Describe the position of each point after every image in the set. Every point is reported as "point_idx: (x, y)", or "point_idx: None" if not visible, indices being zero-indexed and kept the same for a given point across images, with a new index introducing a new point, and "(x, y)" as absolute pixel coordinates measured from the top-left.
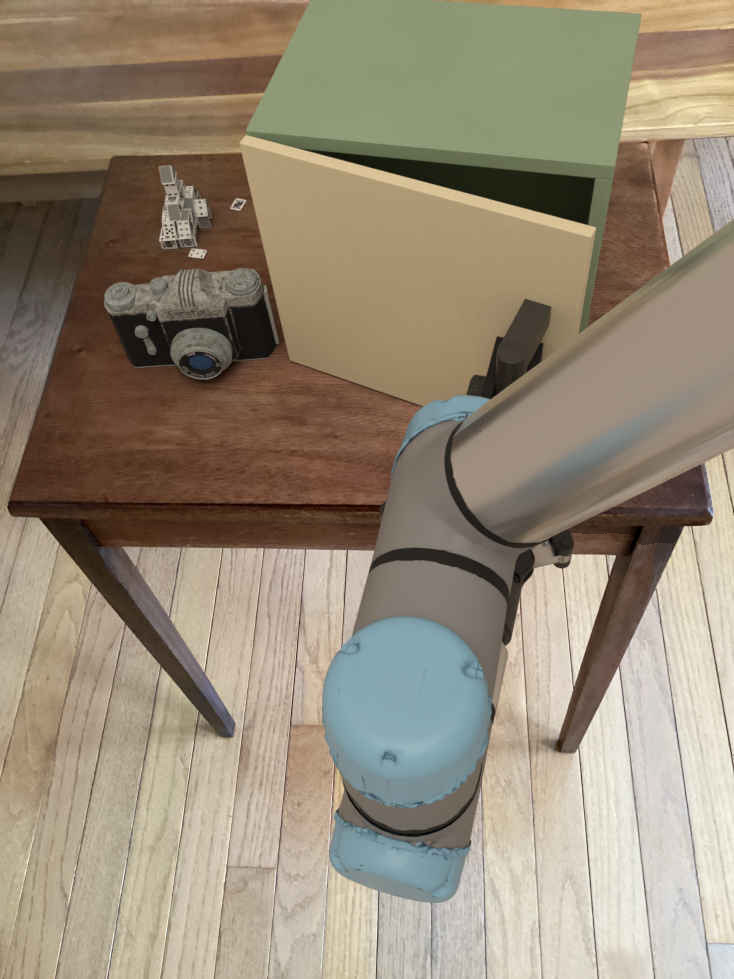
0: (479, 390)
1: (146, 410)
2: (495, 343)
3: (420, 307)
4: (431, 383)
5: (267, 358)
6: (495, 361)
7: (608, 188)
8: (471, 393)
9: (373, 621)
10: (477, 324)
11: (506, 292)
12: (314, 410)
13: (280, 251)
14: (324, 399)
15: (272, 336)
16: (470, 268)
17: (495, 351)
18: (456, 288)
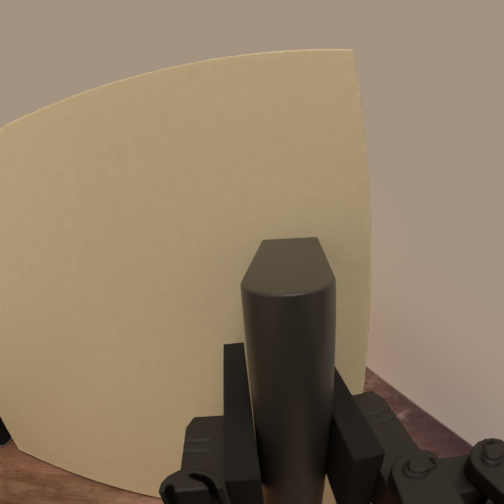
0: (215, 447)
1: None
2: (224, 353)
3: (93, 339)
4: (149, 467)
5: (3, 446)
6: (235, 378)
7: None
8: (194, 458)
9: None
10: (184, 344)
11: (223, 241)
12: (33, 499)
13: None
14: (44, 488)
15: (4, 425)
16: (150, 211)
17: (229, 363)
18: (134, 273)
